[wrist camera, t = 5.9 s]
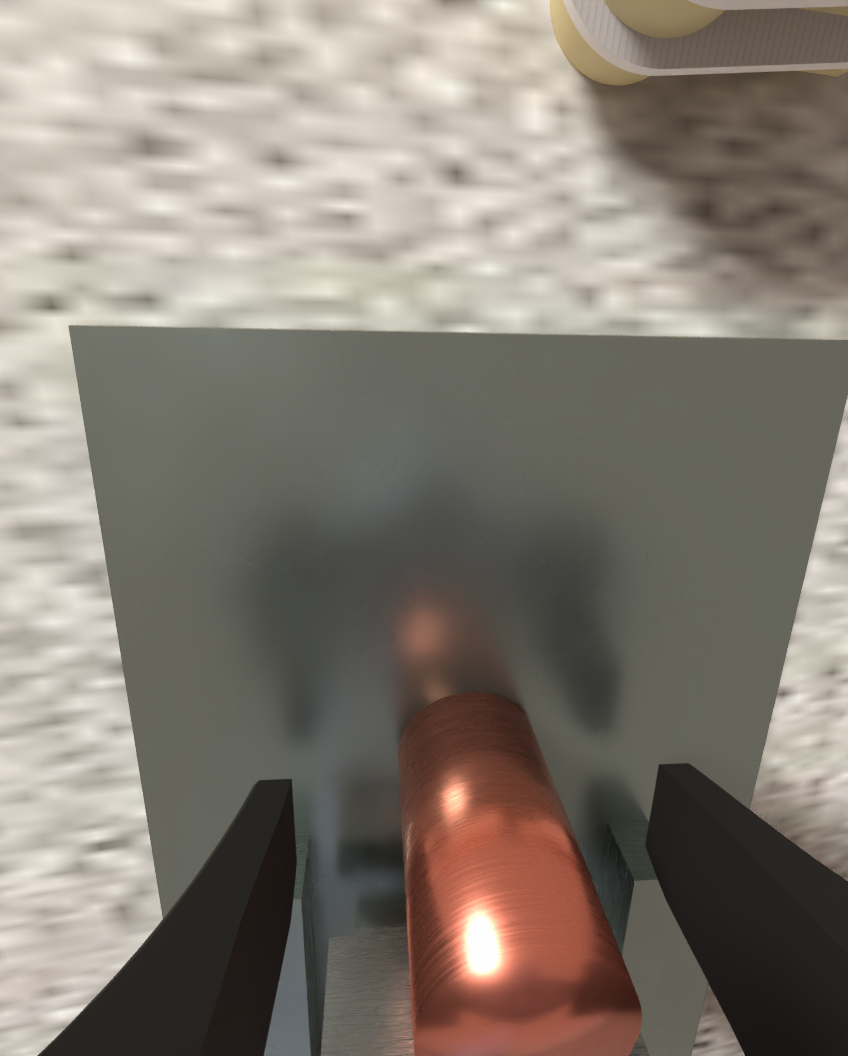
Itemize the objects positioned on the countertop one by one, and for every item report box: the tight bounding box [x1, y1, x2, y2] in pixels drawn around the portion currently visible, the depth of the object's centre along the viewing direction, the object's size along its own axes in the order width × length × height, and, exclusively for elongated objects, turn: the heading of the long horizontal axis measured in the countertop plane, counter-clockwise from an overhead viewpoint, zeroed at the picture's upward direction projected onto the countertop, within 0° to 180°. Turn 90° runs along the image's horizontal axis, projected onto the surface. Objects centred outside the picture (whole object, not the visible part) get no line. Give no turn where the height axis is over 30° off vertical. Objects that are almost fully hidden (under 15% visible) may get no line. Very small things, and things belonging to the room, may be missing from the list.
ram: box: [321, 692, 650, 1056], centre depth 11 cm, size 7×6×6 cm
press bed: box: [69, 325, 848, 1056], centre depth 12 cm, size 21×14×6 cm, turn 179°
